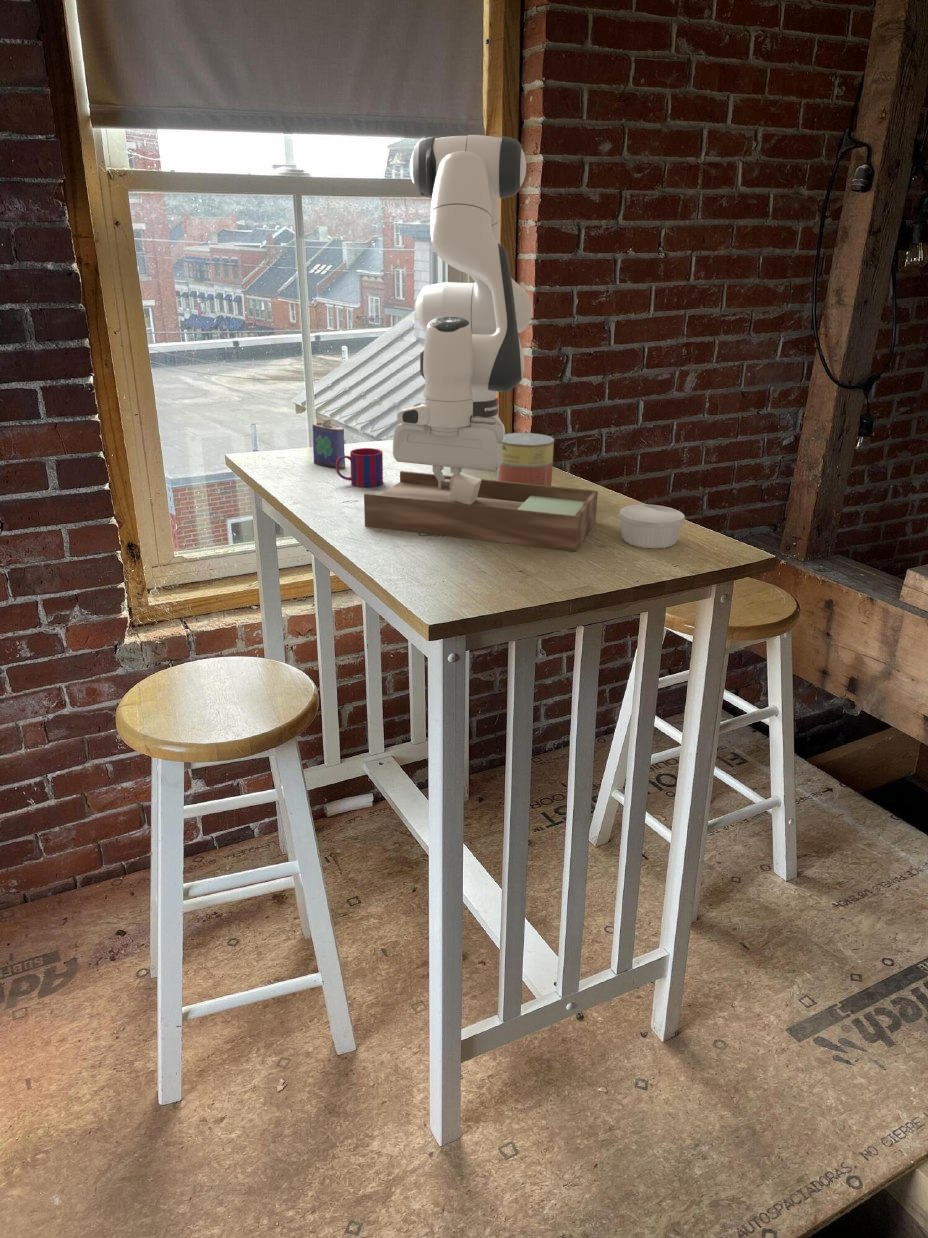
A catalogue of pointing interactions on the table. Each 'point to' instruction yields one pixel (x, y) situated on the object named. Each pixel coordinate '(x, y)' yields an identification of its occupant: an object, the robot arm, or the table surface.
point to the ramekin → (650, 525)
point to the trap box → (486, 512)
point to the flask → (328, 444)
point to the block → (465, 488)
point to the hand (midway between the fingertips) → (446, 489)
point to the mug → (364, 467)
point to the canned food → (526, 458)
